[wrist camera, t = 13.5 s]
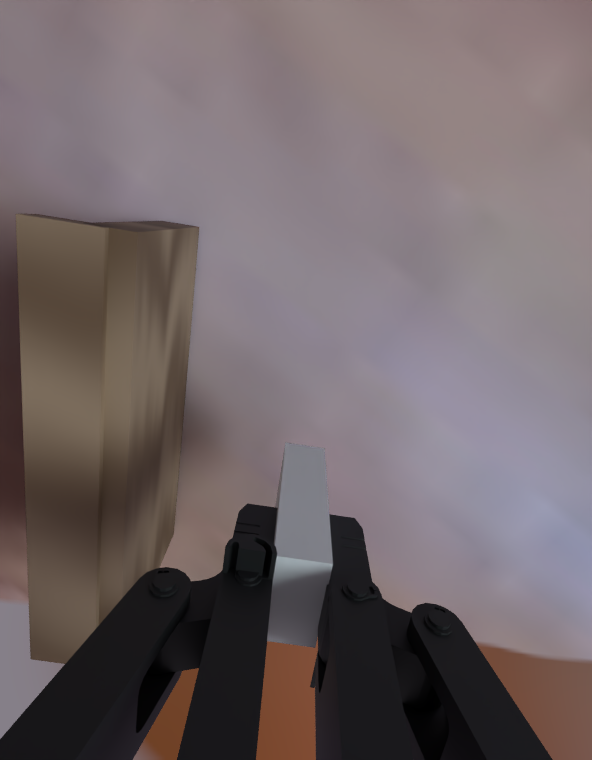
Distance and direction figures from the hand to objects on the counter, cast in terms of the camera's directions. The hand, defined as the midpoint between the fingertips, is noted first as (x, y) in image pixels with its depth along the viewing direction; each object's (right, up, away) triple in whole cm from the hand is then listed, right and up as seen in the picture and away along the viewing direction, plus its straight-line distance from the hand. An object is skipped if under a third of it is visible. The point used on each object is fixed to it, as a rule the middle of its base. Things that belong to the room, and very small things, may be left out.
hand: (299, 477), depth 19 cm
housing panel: (-6, +3, +5) cm, 9 cm away
